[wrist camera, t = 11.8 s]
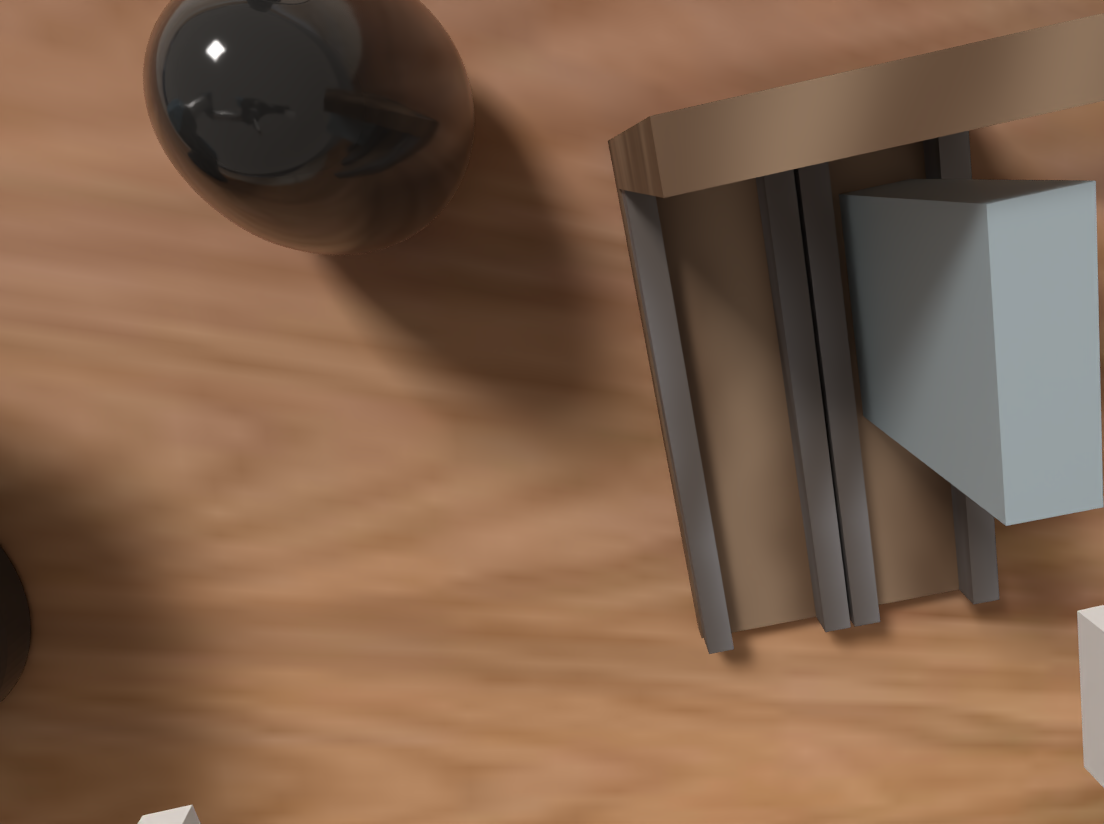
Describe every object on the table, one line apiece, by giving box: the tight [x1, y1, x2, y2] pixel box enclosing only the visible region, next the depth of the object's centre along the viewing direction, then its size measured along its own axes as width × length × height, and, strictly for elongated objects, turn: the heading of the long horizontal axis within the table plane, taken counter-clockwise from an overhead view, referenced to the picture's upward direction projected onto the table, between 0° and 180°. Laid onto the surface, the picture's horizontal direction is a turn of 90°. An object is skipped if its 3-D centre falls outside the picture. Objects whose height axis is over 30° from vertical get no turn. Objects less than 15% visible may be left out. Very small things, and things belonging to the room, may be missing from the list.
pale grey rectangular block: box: [839, 179, 1103, 526], centre depth 30 cm, size 3×10×12 cm, turn 12°
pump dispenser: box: [143, 0, 475, 255], centre depth 27 cm, size 10×10×15 cm
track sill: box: [608, 13, 1104, 654], centre depth 30 cm, size 14×24×15 cm, turn 12°
